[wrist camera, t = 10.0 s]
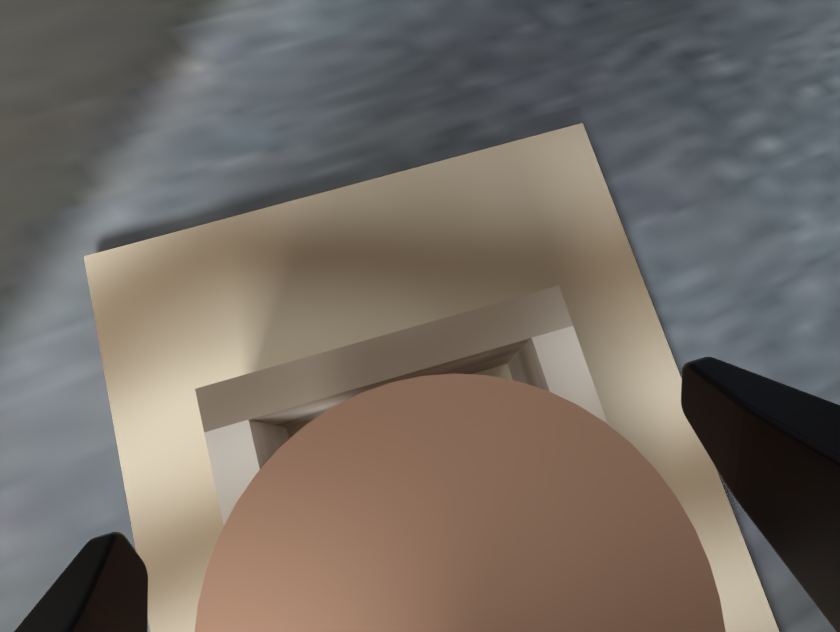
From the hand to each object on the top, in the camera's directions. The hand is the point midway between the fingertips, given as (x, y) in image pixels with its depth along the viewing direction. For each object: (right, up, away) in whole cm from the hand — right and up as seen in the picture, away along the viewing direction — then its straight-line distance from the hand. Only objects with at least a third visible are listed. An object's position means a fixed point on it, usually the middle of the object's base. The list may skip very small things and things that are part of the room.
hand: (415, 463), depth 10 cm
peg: (0, -3, +7) cm, 8 cm away
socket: (0, -3, +8) cm, 9 cm away
